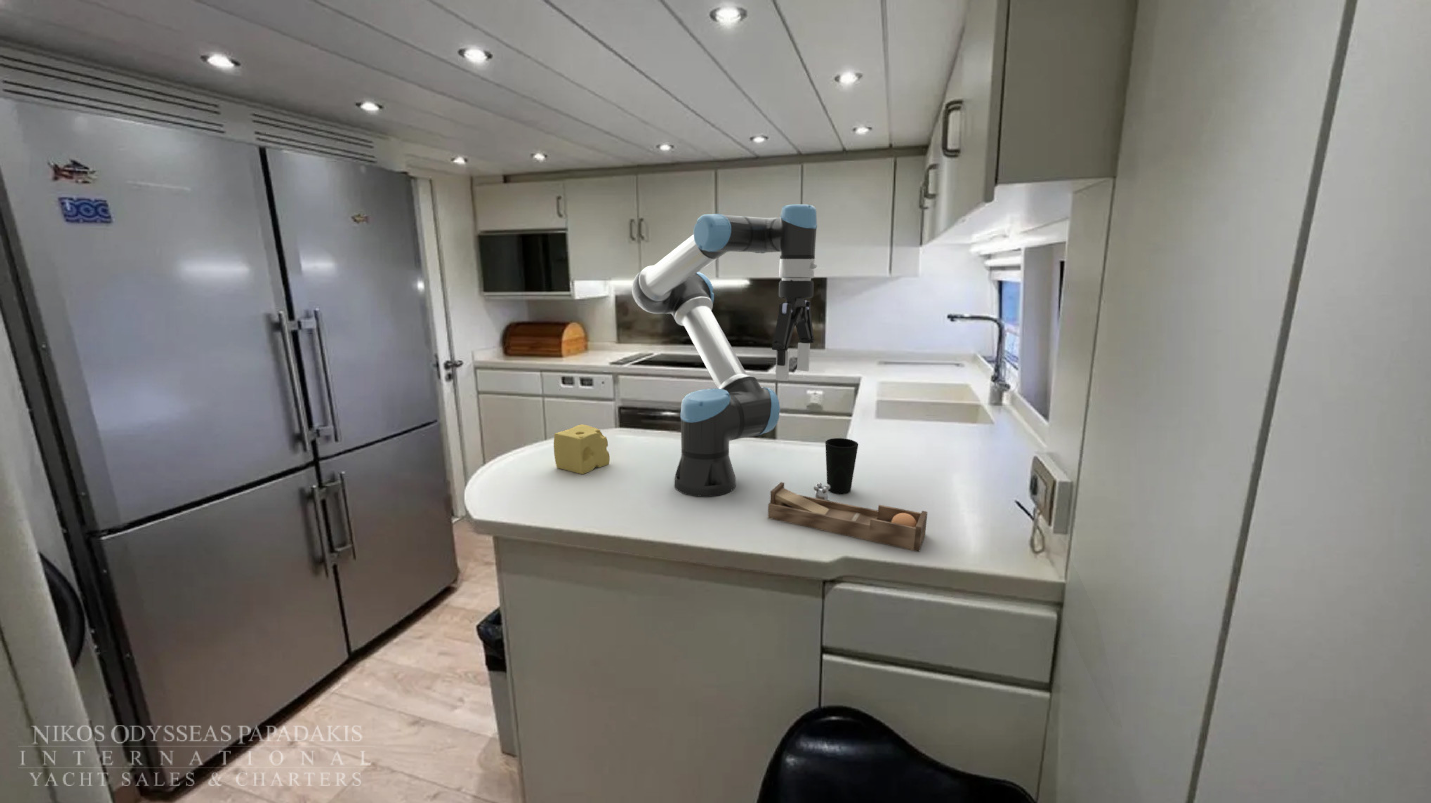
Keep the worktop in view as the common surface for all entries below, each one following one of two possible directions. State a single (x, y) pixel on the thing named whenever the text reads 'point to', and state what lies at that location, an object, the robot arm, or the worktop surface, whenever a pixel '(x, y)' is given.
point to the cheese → (580, 449)
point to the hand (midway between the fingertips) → (792, 375)
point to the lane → (847, 519)
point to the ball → (904, 519)
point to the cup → (840, 464)
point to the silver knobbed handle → (821, 491)
